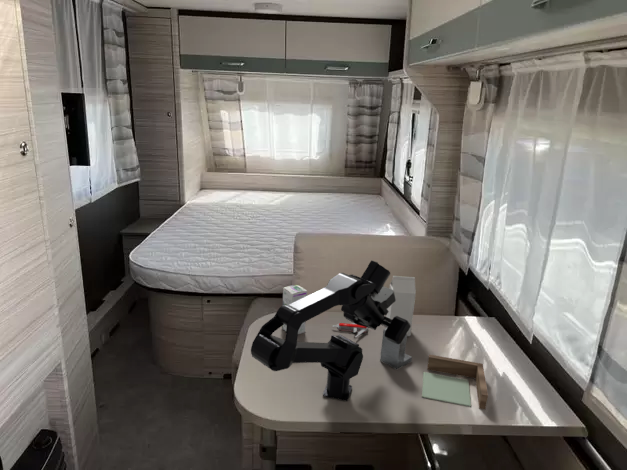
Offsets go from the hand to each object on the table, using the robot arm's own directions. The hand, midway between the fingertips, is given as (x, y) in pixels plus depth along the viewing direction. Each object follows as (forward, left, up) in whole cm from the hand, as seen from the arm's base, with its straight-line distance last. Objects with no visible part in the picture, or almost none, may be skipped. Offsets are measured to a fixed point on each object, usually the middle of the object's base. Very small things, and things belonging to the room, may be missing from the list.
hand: (387, 333), depth 133 cm
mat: (-5, -17, -11) cm, 21 cm away
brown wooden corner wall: (-3, -19, -11) cm, 22 cm away
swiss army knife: (+19, +13, -11) cm, 26 cm away
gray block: (+5, -3, -11) cm, 12 cm away
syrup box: (+12, +30, -11) cm, 34 cm away
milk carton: (+24, -2, -11) cm, 27 cm away
